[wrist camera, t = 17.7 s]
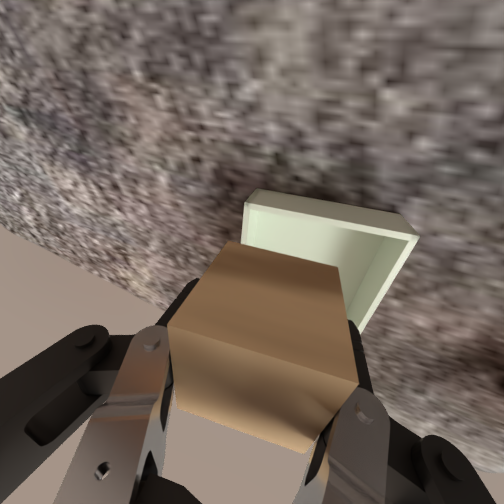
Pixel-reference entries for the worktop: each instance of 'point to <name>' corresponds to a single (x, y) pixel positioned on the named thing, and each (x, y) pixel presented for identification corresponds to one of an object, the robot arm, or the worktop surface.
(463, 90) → the worktop surface
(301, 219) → the box
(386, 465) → the robot arm
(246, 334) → the oak block
